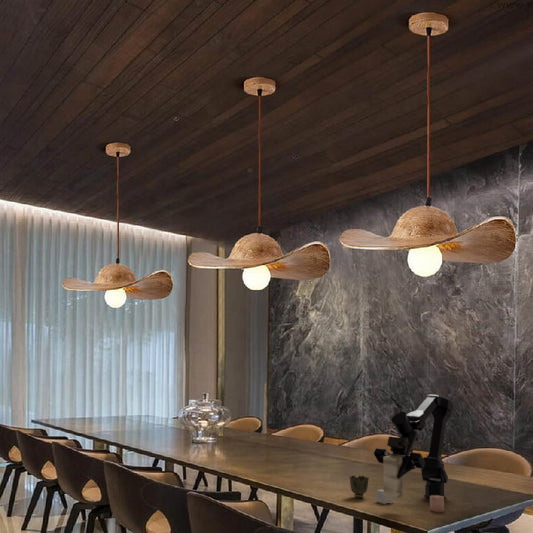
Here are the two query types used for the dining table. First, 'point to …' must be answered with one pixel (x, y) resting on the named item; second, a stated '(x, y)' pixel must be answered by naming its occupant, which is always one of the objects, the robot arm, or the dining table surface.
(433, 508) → the pink cube
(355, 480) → the cup
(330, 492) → the dining table surface
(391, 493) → the birch block
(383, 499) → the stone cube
